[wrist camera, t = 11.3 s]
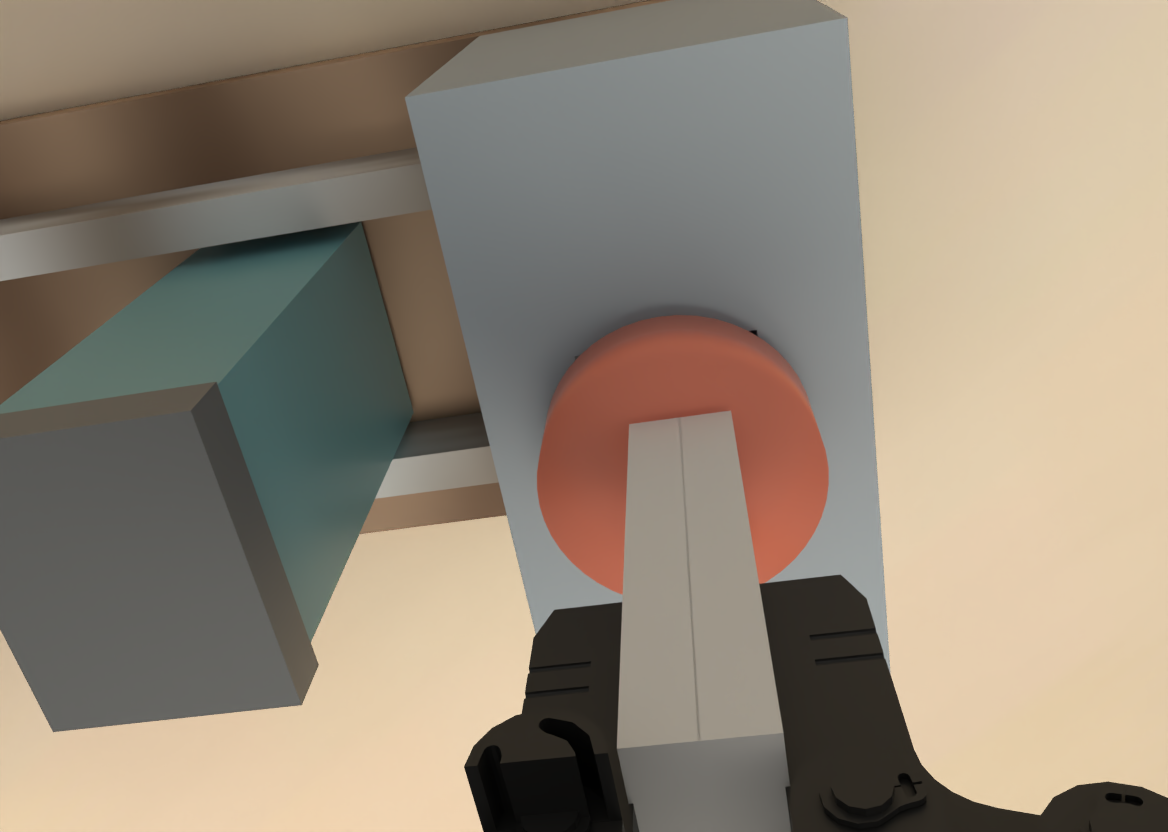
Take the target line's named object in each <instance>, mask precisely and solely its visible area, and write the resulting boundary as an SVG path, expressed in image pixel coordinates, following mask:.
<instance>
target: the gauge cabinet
mask: <svg viewBox="0 0 1168 832" xmlns="http://www.w3.org/2000/svg"><path fill="white" fill-rule="evenodd" d="M405 101H406V105H407V109H408V113H409V117H410V121H411V125H412V129H413V133H414V137H415V142H416V146H417V150H418V154H419V158H420V162H421V166H422V170H423V174H424V178H425V182H426V187H427V191H428V195H429V199H430V203H431V207H432V211H433V215H434V219H435V223H436V227H437V232H438V236H439V240H440V244H441V248H442V252H443V256H444V260H445V264H446V268H447V272H448V277H449V281H450V285H451V289H452V293H453V297H454V301H455V305H456V309H457V313H458V318H459V322H460V326H461V330H462V334H463V338H464V342H465V346H466V350H467V354H468V358H469V363H470V367H471V371H472V375H473V379H474V383H475V387H476V391H477V395H478V399H479V403H480V408H481V412H482V416H483V420H484V424H485V428H486V432H487V436H488V440H489V444H490V448H491V453H492V457H493V461H494V465H495V469H496V473H497V477H498V481H499V485H500V489H501V493H502V498H503V502H504V506H505V510H506V514H507V518H508V522H509V526H510V530H511V534H512V538H513V543H514V547H515V551H516V555H517V559H518V563H519V567H520V571H521V575H522V579H523V584H524V588H525V592H526V596H527V600H528V604H529V608H530V612H531V616H532V620H533V624H534V629H535V633H536V634H537V633H538V631H539V630H540V629H541V627H542V626H543V624H544V623H545V622H546V620H547V619H548V618H549V616H550V615H551V613H552V612H553V611H554V610H556V609H565V608H574V607H583V606H592V605H601V604H610V603H618V602H622V598H623V595H622V594H619V593H617V592H614V591H612V590H610V589H608V588H606V587H605V586H603V585H601V584H599V583H597V582H596V581H594V580H593V579H591V578H590V577H589V576H587V575H586V574H584V573H583V572H582V571H581V570H580V569H579V568H577V567H576V566H575V565H574V564H573V563H572V562H571V561H570V560H569V559H568V558H567V557H566V555H565V554H564V553H563V552H562V551H561V550H560V548H559V547H558V545H557V544H556V542H555V541H554V539H553V537H552V536H551V534H550V532H549V530H548V528H547V526H546V523H545V521H544V518H543V515H542V512H541V509H540V505H539V499H538V492H537V469H538V462H539V456H540V450H541V445H542V439H543V434H544V429H545V423H546V418H547V412H548V409H549V406H550V402H551V399H552V396H553V394H554V392H555V390H556V388H557V386H558V384H559V382H560V380H561V379H562V377H563V376H564V374H565V373H566V371H567V370H568V368H569V367H570V366H571V365H572V364H573V362H574V361H575V360H576V359H577V358H578V357H579V356H580V355H581V354H582V353H583V352H584V351H585V350H587V349H588V348H589V347H590V346H591V345H592V344H594V343H595V342H597V341H598V340H600V339H601V338H603V337H604V336H606V335H607V334H609V333H611V332H613V331H615V330H617V329H619V328H621V327H623V326H626V325H629V324H632V323H635V322H638V321H641V320H645V319H650V318H655V317H660V316H672V315H692V316H701V317H708V318H714V319H718V320H721V321H724V322H728V323H731V324H734V325H736V326H738V327H741V328H743V329H745V330H748V331H749V332H751V333H753V334H754V335H756V336H758V337H759V338H761V339H763V340H764V341H765V342H767V343H768V344H769V345H770V346H772V347H773V348H774V349H775V350H777V351H778V352H779V353H780V354H781V355H782V357H783V358H784V359H785V360H786V361H787V362H788V363H789V364H790V366H791V367H792V368H793V370H794V371H795V373H796V374H797V375H798V377H799V379H800V381H801V383H802V385H803V387H804V389H805V391H806V393H807V396H808V399H809V402H810V405H811V408H812V411H813V414H814V417H815V420H816V423H817V426H818V429H819V432H820V435H821V438H822V441H823V444H824V447H825V450H826V455H827V461H828V467H829V486H828V493H827V500H826V504H825V507H824V511H823V514H822V517H821V520H820V522H819V524H818V526H817V528H816V530H815V532H814V534H813V536H812V537H811V539H810V540H809V542H808V543H807V545H806V546H805V548H804V549H803V550H802V551H801V552H800V554H799V555H798V556H797V557H796V558H795V559H794V560H793V561H792V562H791V563H790V564H789V565H788V566H787V567H786V568H785V569H783V570H782V571H781V572H780V573H778V574H777V575H776V576H774V577H773V578H771V579H770V580H769V581H767V582H765V583H770V582H779V581H787V580H796V579H805V578H814V577H823V576H832V575H840V574H841V575H842V576H843V577H844V578H845V579H846V580H847V581H848V582H849V583H851V584H852V585H853V586H854V587H855V588H856V589H857V590H858V591H859V592H860V593H861V594H862V595H863V596H865V597H866V598H867V602H868V605H869V608H870V611H871V614H872V618H873V621H874V624H875V627H876V633H877V634H878V637H879V640H880V643H881V646H882V649H883V653H884V659H886V662H887V665H888V668H889V672H890V660H889V645H888V630H887V615H886V599H885V584H884V569H883V554H882V538H881V523H880V508H879V493H878V477H877V462H876V447H875V432H874V416H873V401H872V386H871V370H870V355H869V340H868V325H867V309H866V294H865V279H864V264H863V248H862V233H861V218H860V203H859V187H858V172H857V157H856V142H855V126H854V111H853V96H852V81H851V65H850V50H849V35H848V19H847V17H845V16H844V15H842V14H840V13H838V12H836V11H835V10H833V9H831V8H829V7H828V6H826V5H824V4H822V3H820V2H819V1H817V0H670V1H665V2H659V3H654V4H649V5H643V6H638V7H632V8H627V9H622V10H616V11H611V12H605V13H600V14H595V15H589V16H584V17H579V18H573V19H568V20H562V21H557V22H552V23H546V24H541V25H536V26H530V27H525V28H519V29H514V30H509V31H503V32H498V33H493V34H487V35H482V36H479V37H478V38H476V39H475V40H474V41H473V42H471V43H470V44H469V45H468V46H467V47H465V48H464V49H463V50H462V51H460V52H459V53H458V54H457V55H456V56H454V57H453V58H452V59H451V60H450V61H448V62H447V63H446V64H445V65H443V66H442V67H441V68H440V69H439V70H437V71H436V72H435V73H434V74H433V75H431V76H430V77H429V78H428V79H426V80H425V81H424V82H423V83H422V84H420V85H419V86H418V87H417V88H416V89H414V90H413V91H412V92H411V93H409V94H408V95H407V96H406V97H405Z"/></svg>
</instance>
